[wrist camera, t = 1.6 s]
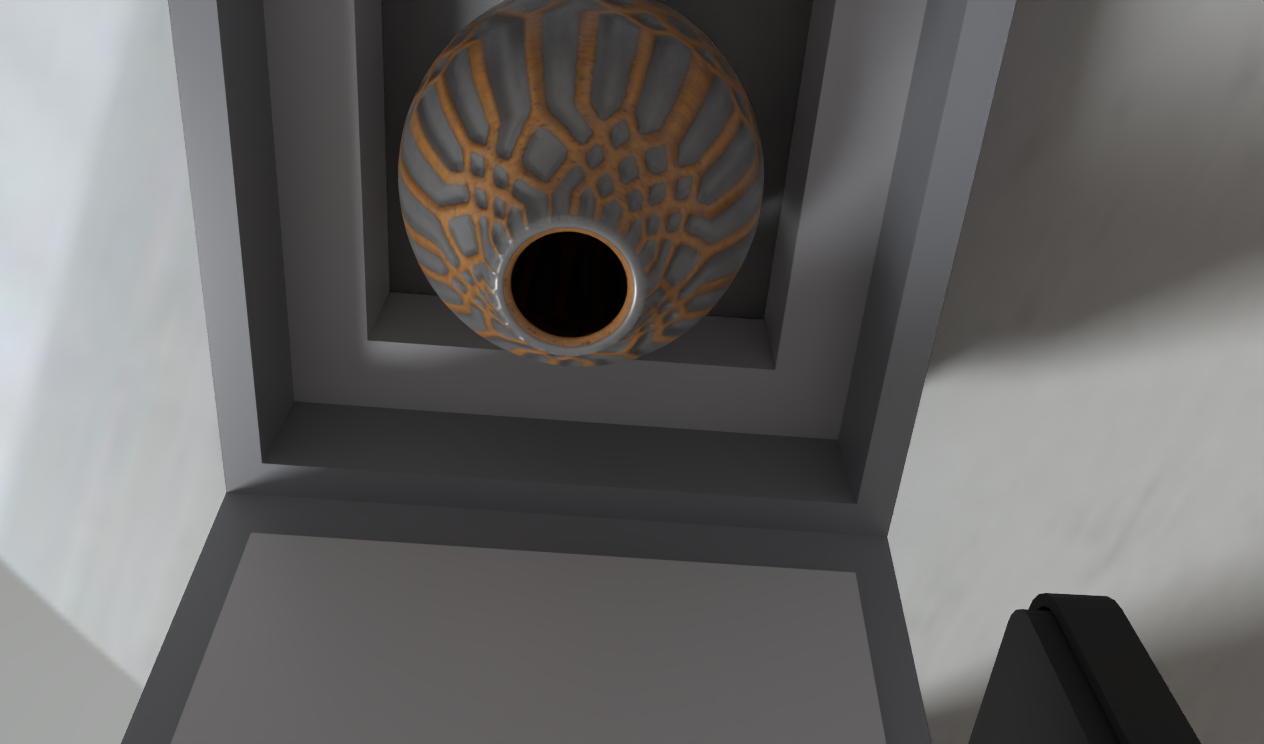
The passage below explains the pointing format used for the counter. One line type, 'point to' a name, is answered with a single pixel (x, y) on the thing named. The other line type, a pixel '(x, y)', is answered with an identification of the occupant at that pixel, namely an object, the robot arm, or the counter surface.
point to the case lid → (527, 632)
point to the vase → (580, 177)
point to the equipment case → (562, 395)
